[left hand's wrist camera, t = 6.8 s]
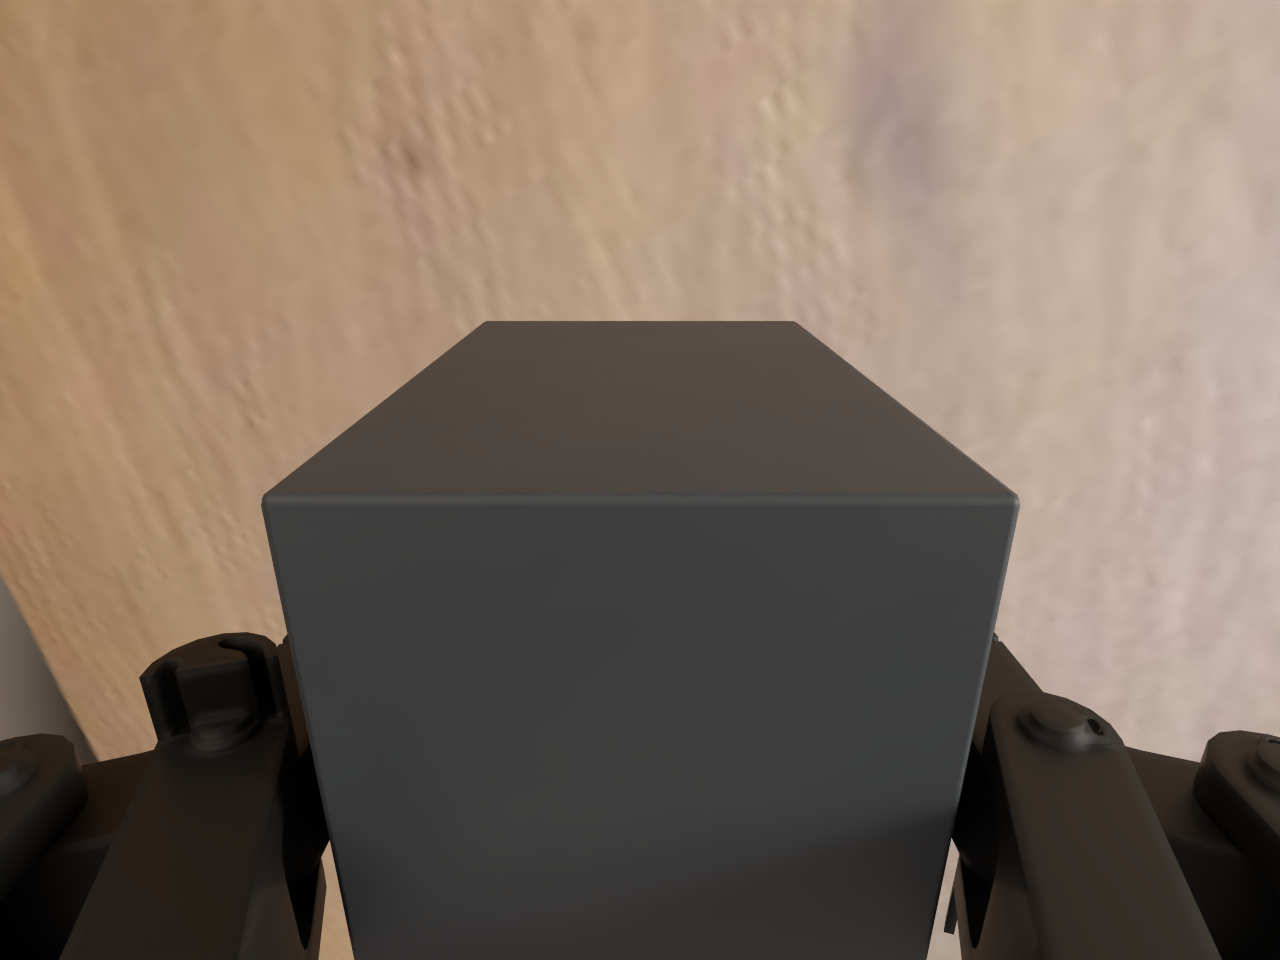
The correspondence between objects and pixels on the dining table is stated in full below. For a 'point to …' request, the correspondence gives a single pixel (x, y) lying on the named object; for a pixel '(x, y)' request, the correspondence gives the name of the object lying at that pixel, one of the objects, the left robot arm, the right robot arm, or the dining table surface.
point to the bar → (640, 648)
